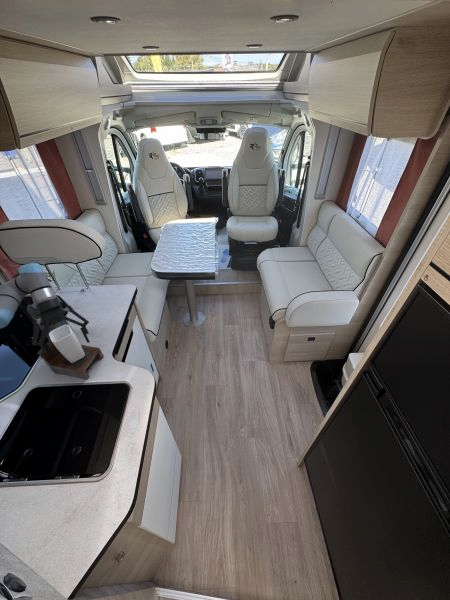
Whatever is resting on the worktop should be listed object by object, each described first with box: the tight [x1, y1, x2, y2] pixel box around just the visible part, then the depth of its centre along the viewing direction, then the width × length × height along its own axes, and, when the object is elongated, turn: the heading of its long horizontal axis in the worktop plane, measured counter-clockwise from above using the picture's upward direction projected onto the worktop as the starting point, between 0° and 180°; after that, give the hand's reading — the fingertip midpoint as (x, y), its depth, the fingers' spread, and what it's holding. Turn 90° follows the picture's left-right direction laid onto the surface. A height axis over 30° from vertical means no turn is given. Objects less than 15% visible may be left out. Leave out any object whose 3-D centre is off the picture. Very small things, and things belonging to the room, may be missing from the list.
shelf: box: [37, 339, 105, 381], centre depth 105 cm, size 16×12×14 cm
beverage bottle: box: [26, 302, 75, 341], centre depth 113 cm, size 10×13×25 cm
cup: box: [49, 324, 85, 363], centre depth 100 cm, size 7×7×15 cm
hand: (71, 350), depth 99 cm, fingers open, 13 cm apart
